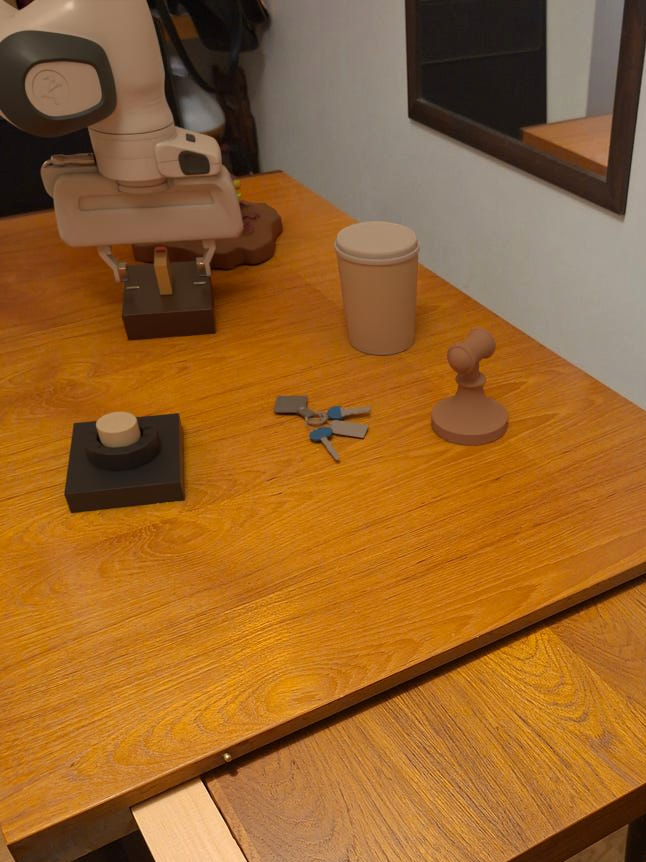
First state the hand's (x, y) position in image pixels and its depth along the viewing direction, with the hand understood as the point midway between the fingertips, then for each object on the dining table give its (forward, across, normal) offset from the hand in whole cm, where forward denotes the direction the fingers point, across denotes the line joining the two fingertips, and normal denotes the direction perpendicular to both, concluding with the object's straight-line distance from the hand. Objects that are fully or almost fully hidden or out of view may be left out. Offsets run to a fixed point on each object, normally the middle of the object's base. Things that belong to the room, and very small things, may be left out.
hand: (164, 277), depth 107 cm
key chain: (+4, +16, -29) cm, 33 cm away
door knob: (+4, +30, -32) cm, 44 cm away
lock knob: (+1, 0, 0) cm, 1 cm away
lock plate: (+4, 0, 0) cm, 4 cm away
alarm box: (+4, -4, -34) cm, 34 cm away
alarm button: (0, -4, -34) cm, 34 cm away
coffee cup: (+4, +24, -12) cm, 27 cm away
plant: (+4, +5, +21) cm, 22 cm away
